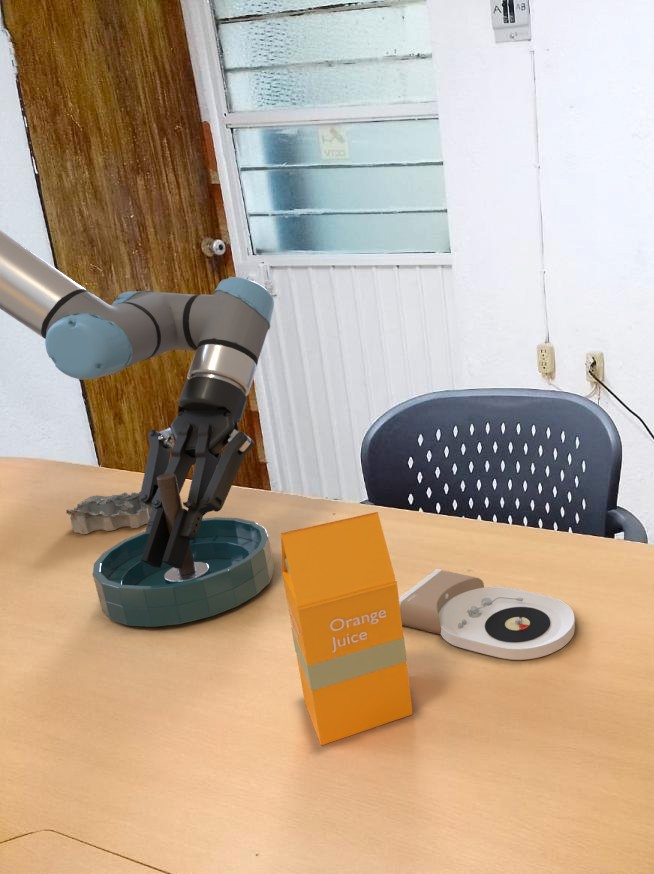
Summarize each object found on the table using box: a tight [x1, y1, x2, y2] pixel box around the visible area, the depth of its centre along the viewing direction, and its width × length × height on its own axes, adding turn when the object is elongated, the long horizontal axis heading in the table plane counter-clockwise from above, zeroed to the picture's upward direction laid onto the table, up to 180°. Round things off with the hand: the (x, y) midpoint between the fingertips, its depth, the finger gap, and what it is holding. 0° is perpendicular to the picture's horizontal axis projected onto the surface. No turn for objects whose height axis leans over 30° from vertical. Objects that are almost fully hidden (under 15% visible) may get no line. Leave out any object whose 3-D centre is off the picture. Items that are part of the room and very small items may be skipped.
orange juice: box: [280, 511, 414, 746], centre depth 78 cm, size 8×9×20 cm
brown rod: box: [157, 473, 210, 584], centre depth 99 cm, size 5×5×14 cm
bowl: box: [92, 516, 275, 628], centre depth 104 cm, size 20×20×6 cm
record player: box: [398, 568, 576, 661], centre depth 95 cm, size 12×3×20 cm
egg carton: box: [65, 490, 152, 535], centre depth 124 cm, size 11×8×4 cm
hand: (161, 564), depth 97 cm, fingers closed on brown rod, 2 cm apart
